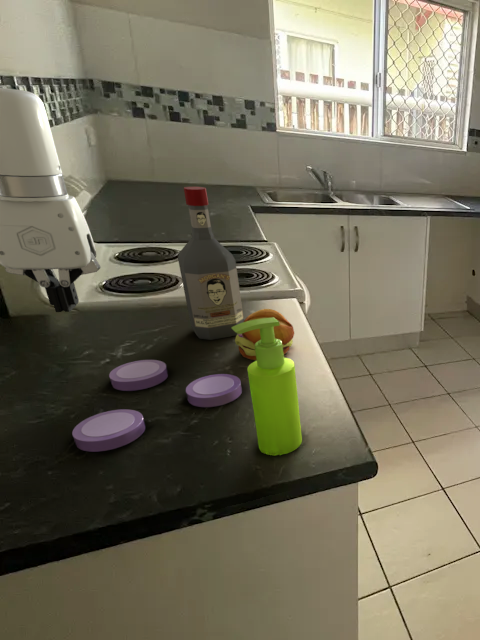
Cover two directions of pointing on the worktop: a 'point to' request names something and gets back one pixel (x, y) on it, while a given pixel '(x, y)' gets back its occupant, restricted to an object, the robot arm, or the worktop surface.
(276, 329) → the cheeseburger
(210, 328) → the liquor
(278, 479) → the worktop surface
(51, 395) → the worktop surface
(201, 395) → the middle dish
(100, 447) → the dish
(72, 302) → the robot arm
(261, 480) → the worktop surface
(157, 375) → the dish
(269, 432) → the soap dispenser
